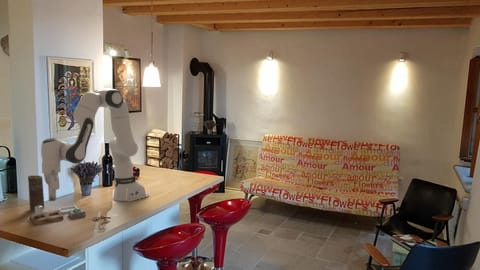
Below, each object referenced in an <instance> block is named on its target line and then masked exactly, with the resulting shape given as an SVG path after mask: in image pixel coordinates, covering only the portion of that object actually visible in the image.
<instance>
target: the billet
mask: <svg viewBox="0 0 480 270" xmlns="http://www.w3.org/2000/svg"><path fill="white" fill-rule="evenodd" d="M47 189H48V202H55V201H56V200H57V194H56V195H55V196H52V195H51V192H52V191H51V188H50V187H49V186H48V185H47Z"/></svg>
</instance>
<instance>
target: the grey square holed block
mask: <svg viewBox="0 0 480 270" xmlns="http://www.w3.org/2000/svg"><path fill="white" fill-rule="evenodd" d="M79 208H80V207H79ZM68 216H69V217H70V218H71V219H78V218H83V217H84V218H85V217H86V211H85V209H83V208H82V207H81V208H80V212H75V213H74V210H69V213H68Z"/></svg>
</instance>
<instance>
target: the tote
mask: <svg viewBox="0 0 480 270" xmlns="http://www.w3.org/2000/svg"><path fill="white" fill-rule="evenodd" d="M74 208H78V207H77V205H71V206H70V205H68V206H63V207H59V208H57V210H59V211H60V212H61V214H62V215H66V214H69V210H74Z"/></svg>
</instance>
